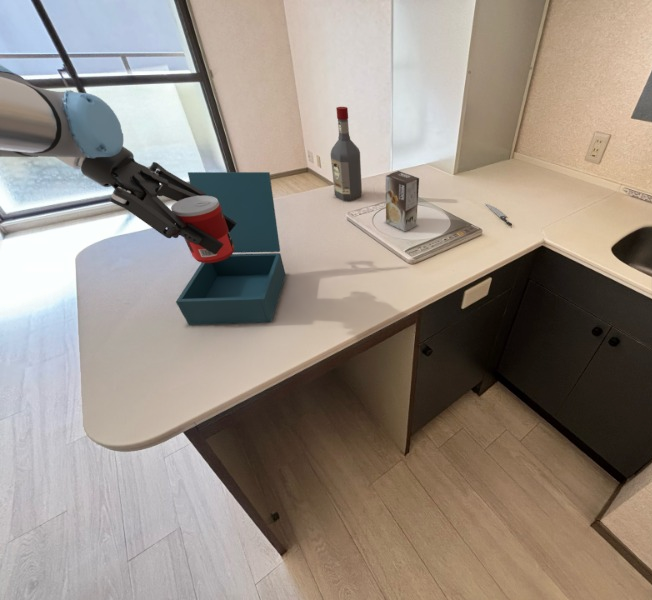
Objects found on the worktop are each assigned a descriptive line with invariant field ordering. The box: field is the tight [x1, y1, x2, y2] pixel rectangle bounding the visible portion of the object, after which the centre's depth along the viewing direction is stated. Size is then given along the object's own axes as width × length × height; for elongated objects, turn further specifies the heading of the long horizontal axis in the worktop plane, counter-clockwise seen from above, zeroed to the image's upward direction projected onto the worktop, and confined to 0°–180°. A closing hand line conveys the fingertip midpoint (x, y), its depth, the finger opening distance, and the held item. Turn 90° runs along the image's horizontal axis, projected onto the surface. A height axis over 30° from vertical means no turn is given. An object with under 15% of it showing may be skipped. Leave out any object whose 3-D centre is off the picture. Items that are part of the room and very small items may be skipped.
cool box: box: [175, 252, 287, 326], centre depth 77 cm, size 18×18×7 cm
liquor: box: [330, 106, 363, 202], centre depth 116 cm, size 9×9×30 cm
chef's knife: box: [484, 203, 513, 227], centre depth 117 cm, size 19×1×3 cm
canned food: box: [170, 196, 234, 263], centre depth 64 cm, size 8×8×11 cm
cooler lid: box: [187, 171, 281, 254], centre depth 79 cm, size 19×18×5 cm
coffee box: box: [385, 170, 420, 232], centre depth 105 cm, size 9×6×16 cm
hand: (226, 238), depth 66 cm, fingers closed on canned food, 8 cm apart
